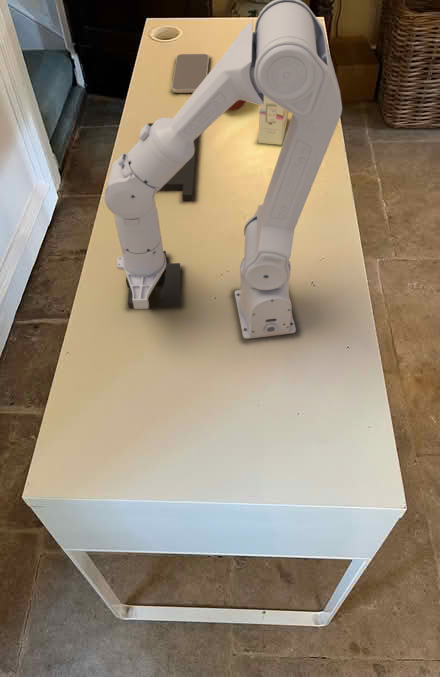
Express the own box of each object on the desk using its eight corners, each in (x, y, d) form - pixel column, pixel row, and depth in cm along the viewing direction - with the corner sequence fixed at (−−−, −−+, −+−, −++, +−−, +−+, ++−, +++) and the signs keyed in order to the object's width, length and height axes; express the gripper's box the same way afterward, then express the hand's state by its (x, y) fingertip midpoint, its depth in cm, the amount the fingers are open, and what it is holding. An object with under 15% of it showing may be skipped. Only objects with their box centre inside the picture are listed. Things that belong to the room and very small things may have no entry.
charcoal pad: (179, 307, 95) (179, 301, 93) (129, 309, 95) (127, 303, 93) (180, 256, 101) (180, 250, 100) (133, 258, 101) (131, 251, 100)
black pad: (192, 201, 109) (192, 194, 108) (137, 201, 110) (136, 195, 108) (198, 129, 122) (197, 122, 121) (149, 129, 123) (148, 123, 121)
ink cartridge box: (264, 118, 124) (266, 48, 112) (288, 120, 123) (293, 50, 111) (257, 143, 119) (259, 72, 107) (282, 146, 118) (286, 75, 106)
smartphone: (209, 53, 138) (205, 89, 129) (209, 57, 139) (205, 93, 130) (176, 54, 138) (171, 89, 129) (177, 57, 139) (171, 93, 130)
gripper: (117, 203, 87) (131, 268, 98) (104, 278, 78) (120, 340, 89) (166, 203, 87) (174, 268, 98) (158, 278, 78) (168, 340, 89)
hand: (152, 302), depth 94 cm, fingers closed, pressing on charcoal pad
